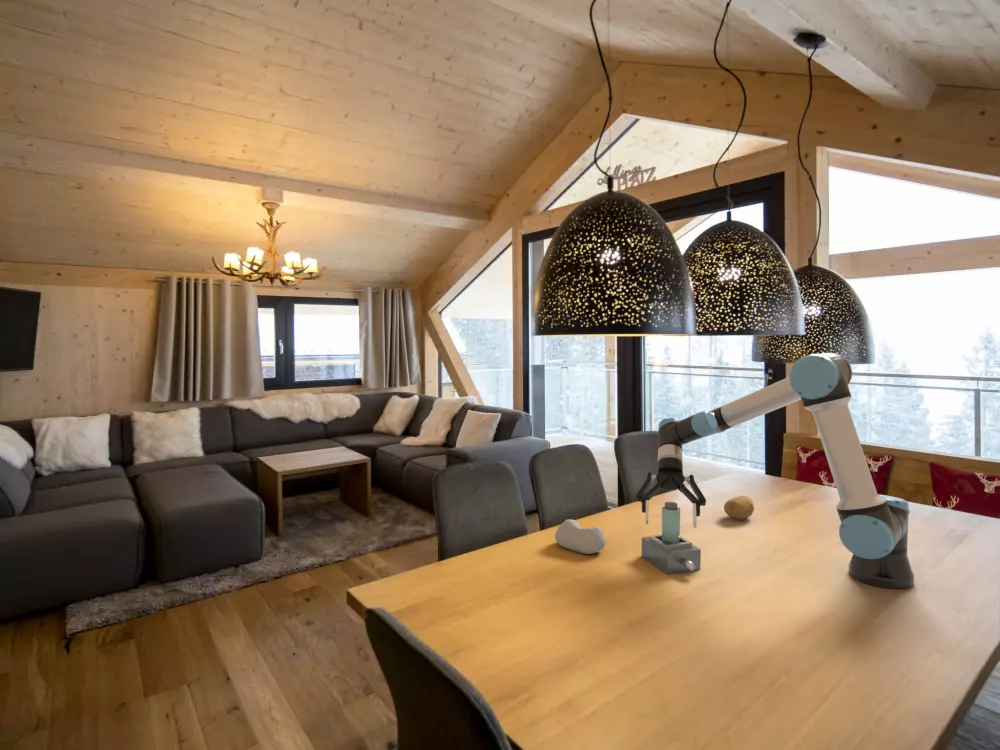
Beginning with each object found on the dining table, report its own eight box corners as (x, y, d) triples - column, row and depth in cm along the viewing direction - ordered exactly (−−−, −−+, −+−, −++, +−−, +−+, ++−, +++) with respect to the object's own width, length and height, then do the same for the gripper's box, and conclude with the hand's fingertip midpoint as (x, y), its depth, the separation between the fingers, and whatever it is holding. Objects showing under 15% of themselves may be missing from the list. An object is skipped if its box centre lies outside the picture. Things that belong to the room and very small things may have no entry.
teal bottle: (683, 544, 169) (683, 505, 168) (668, 547, 168) (668, 506, 167) (673, 539, 174) (673, 500, 173) (658, 541, 172) (658, 502, 172)
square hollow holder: (709, 575, 162) (709, 550, 162) (675, 580, 159) (675, 554, 159) (669, 549, 181) (669, 527, 181) (638, 554, 178) (638, 531, 178)
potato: (760, 516, 213) (760, 495, 212) (745, 526, 203) (745, 503, 202) (733, 511, 220) (734, 490, 219) (718, 520, 210) (718, 498, 209)
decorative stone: (546, 538, 185) (559, 510, 188) (562, 548, 192) (574, 521, 194) (589, 557, 173) (602, 526, 176) (604, 567, 179) (616, 537, 182)
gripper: (711, 470, 181) (714, 533, 167) (630, 466, 187) (627, 526, 174) (712, 457, 175) (716, 521, 162) (629, 454, 182) (626, 514, 169)
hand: (670, 523), depth 168 cm, fingers open, 13 cm apart
